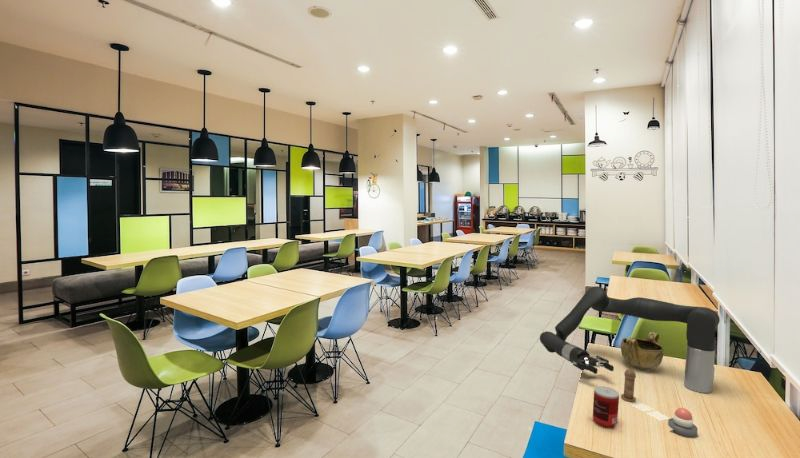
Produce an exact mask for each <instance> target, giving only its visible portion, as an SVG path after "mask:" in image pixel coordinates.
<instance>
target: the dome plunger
mask: <svg viewBox="0 0 800 458" xmlns="http://www.w3.org/2000/svg"><path fill="white" fill-rule="evenodd" d="M692 414H693V413H692V412H690V410H688V409H687V408H684V407H679V408H677V409H675V411H674V413H673V418H674V420H673V421H674V423H676V424H677V425H679V426H682V427H686V428H691V427H692V425H693V424H694V418H693V415H692Z"/></svg>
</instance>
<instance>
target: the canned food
mask: <svg viewBox="0 0 800 458" xmlns="http://www.w3.org/2000/svg"><path fill="white" fill-rule="evenodd" d="M619 397H620V393H619V391H617V390H616V389H615V388H612V387H610V386H605V385H599V386H595V387H594V390H593V403H592V404H593V405H592V421H594V423H595V424H596V425H598V426H600V427H603V428H607V429H608V428H609V429H613V428H615V427H616V425H617V424H618V418H619V417H618V416H619V403H620V398H619Z"/></svg>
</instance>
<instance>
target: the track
mask: <svg viewBox="0 0 800 458" xmlns="http://www.w3.org/2000/svg"><path fill="white" fill-rule="evenodd" d="M619 400H621V401H623V402H625V403H627V404H630V405H631V406H632V407H634V408H636V409H637V410H639V411H641V412H643V413H645V412H646V413H645V414H647V415H648V416H650V417H652V418H653V419H656V421H659V422H661V421H665V420H669V419H671V417H669V416H667V415H665V414H664V413H661V412H660V411H658V410H655V409H654V408H652V407H650V406H649V405H646V404H645V403H643V402H640V401H639V400H637V399H636V402H634V403H630V402H626V401H624V400H622V399H621V395H619Z"/></svg>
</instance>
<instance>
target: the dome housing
mask: <svg viewBox="0 0 800 458" xmlns="http://www.w3.org/2000/svg"><path fill="white" fill-rule="evenodd" d="M673 420H674V417H673V418H672V417H670V419H667V425H668V427H669V428H670V432H672V433H674V434H675V435H678V436H681V437H684V438H690V439H691V438H695V437H696V438H697V436H698V427H697V426H696V425H695V424H694V423H693V425H692V427H691V428H686V427H682V426H679V425H677V424H676V423H674V421H673ZM671 429H672V430H671Z"/></svg>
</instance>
